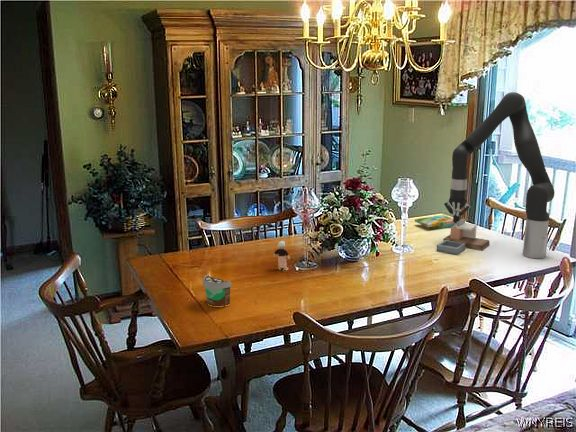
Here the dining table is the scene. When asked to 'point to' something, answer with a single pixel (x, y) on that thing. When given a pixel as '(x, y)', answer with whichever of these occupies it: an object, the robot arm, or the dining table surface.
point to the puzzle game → (436, 222)
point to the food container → (217, 291)
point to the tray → (451, 247)
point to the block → (456, 233)
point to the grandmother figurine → (282, 256)
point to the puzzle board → (471, 242)
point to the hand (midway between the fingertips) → (456, 222)
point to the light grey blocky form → (467, 228)
